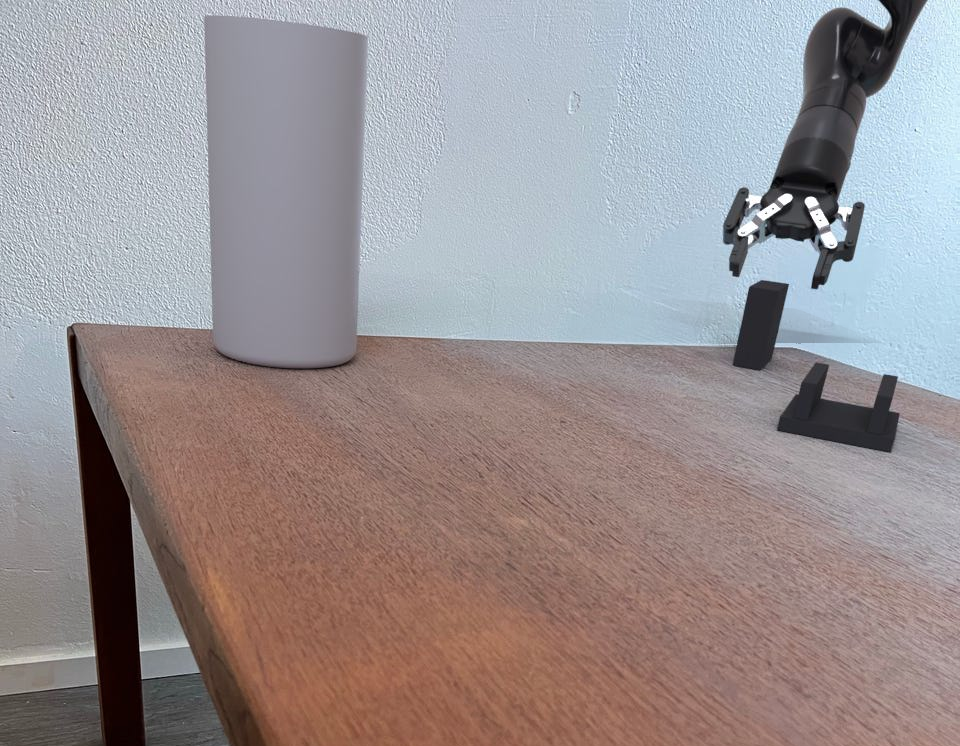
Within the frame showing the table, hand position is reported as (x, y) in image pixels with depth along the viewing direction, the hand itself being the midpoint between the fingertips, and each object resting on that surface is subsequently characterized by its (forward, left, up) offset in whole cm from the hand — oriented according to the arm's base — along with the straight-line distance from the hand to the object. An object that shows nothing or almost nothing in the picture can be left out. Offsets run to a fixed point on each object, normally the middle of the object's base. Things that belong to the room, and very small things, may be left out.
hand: (774, 278), depth 106 cm
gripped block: (+2, +3, -8) cm, 9 cm away
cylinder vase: (+52, +13, -9) cm, 54 cm away
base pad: (+6, +29, -8) cm, 31 cm away
